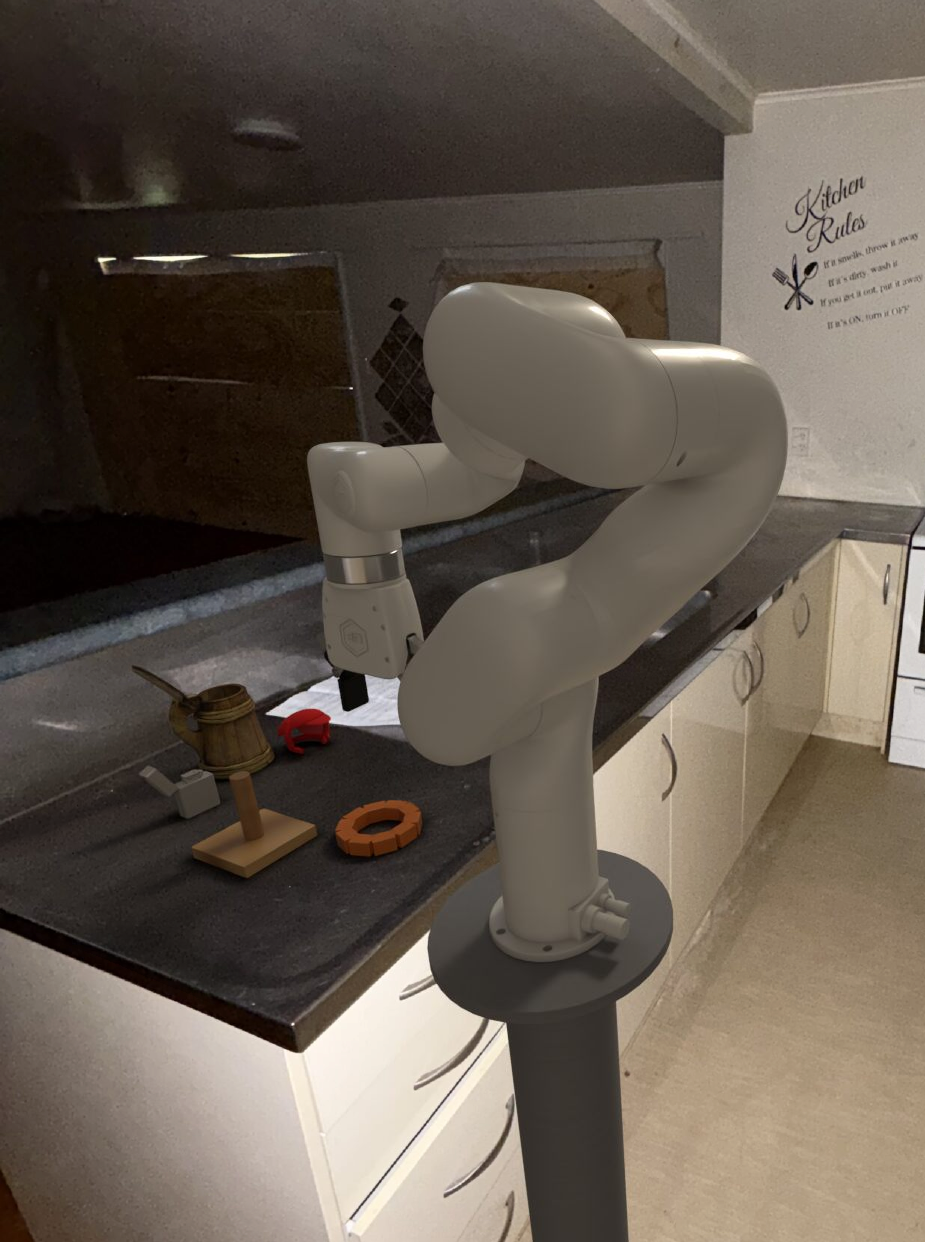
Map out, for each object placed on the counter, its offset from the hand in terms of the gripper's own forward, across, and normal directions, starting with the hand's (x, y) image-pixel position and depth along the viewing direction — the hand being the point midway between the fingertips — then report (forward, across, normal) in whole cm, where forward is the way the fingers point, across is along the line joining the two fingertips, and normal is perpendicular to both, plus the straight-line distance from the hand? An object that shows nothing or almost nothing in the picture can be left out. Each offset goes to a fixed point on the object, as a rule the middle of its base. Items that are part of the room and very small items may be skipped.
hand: (388, 715), depth 84 cm
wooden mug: (+17, -35, +1) cm, 39 cm away
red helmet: (+17, -30, +11) cm, 37 cm away
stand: (+16, -14, -9) cm, 24 cm away
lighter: (+17, -28, -8) cm, 34 cm away
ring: (+16, -4, -1) cm, 17 cm away
